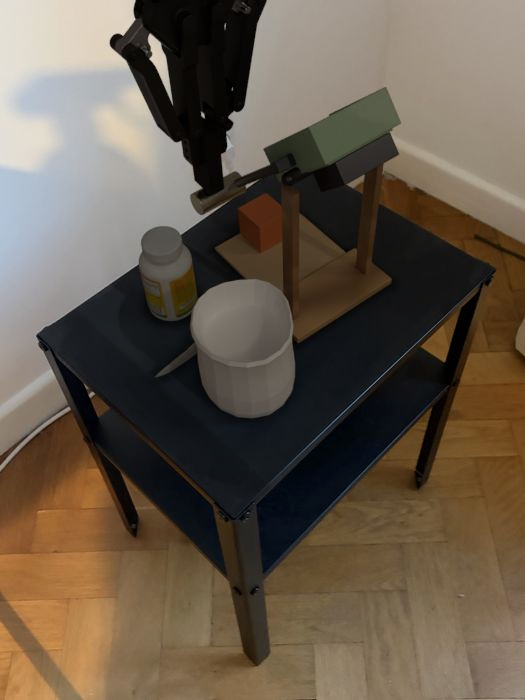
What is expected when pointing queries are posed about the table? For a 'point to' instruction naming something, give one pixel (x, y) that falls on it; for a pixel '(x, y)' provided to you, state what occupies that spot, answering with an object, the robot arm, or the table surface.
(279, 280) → the mat
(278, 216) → the block
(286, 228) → the scoop stand
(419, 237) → the table surface
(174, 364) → the pocket knife
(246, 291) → the cup
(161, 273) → the supplement bottle
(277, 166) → the tilting tray
